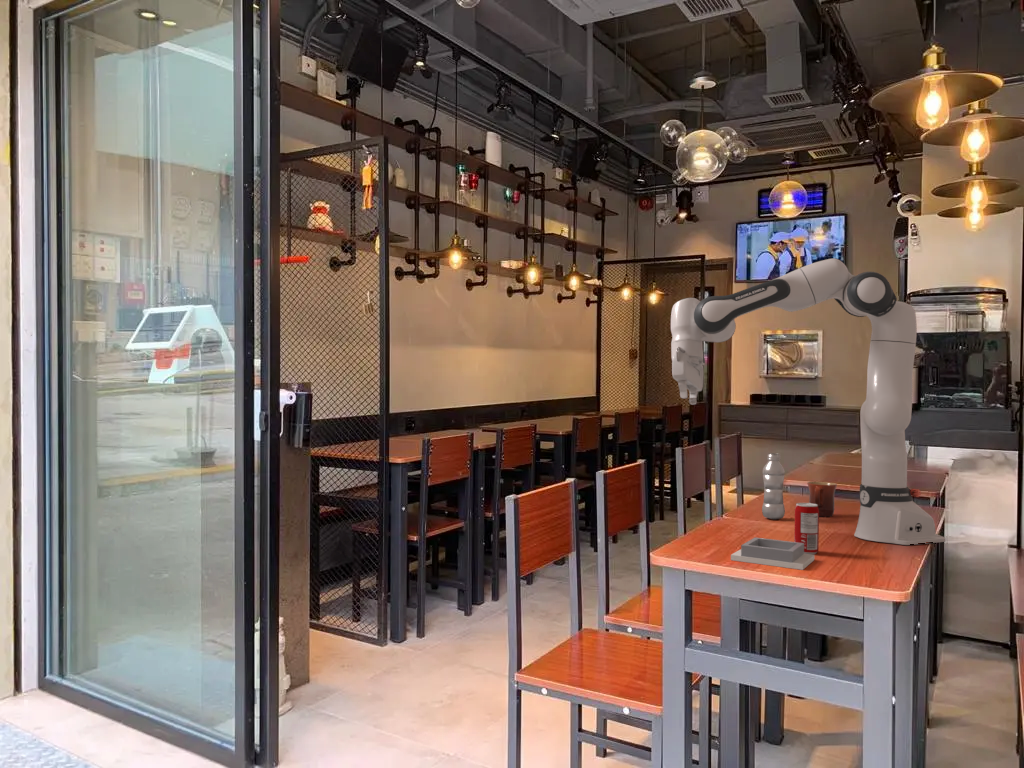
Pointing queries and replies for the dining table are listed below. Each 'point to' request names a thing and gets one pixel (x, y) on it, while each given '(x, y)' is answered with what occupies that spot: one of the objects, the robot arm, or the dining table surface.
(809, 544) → the soda can
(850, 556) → the dining table surface
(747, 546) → the caddy
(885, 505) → the robot arm
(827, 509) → the mug
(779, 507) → the plastic bottle
